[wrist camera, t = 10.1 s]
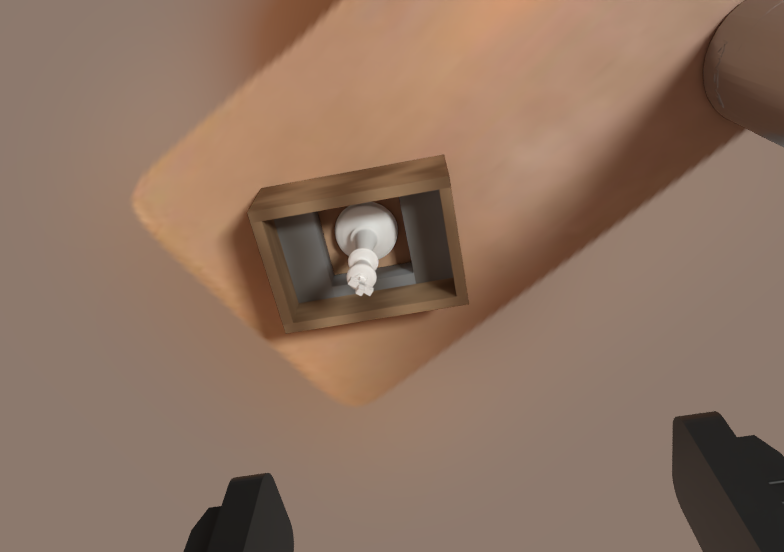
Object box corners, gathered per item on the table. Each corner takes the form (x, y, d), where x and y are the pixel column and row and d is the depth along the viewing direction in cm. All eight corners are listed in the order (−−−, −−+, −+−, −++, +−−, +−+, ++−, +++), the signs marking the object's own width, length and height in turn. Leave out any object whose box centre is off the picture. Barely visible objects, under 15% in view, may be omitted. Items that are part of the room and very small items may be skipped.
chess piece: (377, 269, 50) (373, 337, 41) (323, 239, 49) (307, 302, 40) (410, 221, 48) (413, 281, 39) (355, 189, 47) (345, 244, 38)
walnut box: (444, 154, 45) (449, 176, 41) (462, 273, 50) (469, 304, 46) (261, 188, 47) (247, 212, 42) (295, 301, 51) (285, 333, 47)
